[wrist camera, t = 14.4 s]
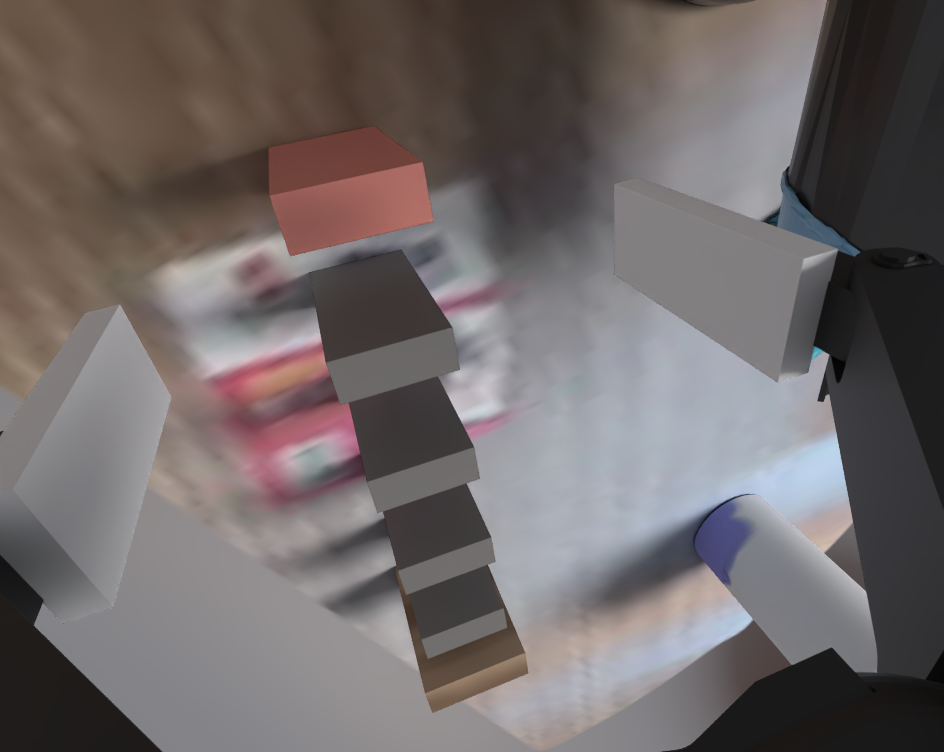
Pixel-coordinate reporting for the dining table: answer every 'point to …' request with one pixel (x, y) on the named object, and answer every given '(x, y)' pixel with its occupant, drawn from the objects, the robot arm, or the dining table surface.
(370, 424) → the domino
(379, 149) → the red domino
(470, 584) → the domino
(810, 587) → the container
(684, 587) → the dining table surface
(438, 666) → the end stop
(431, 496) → the domino
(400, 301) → the domino
